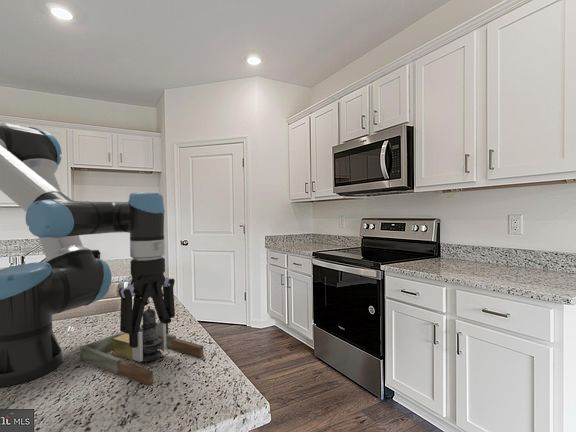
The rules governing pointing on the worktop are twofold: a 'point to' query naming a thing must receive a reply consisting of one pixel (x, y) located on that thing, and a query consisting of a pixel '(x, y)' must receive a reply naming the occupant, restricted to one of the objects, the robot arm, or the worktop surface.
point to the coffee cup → (96, 254)
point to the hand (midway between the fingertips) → (150, 354)
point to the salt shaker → (150, 336)
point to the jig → (113, 364)
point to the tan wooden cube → (127, 350)
